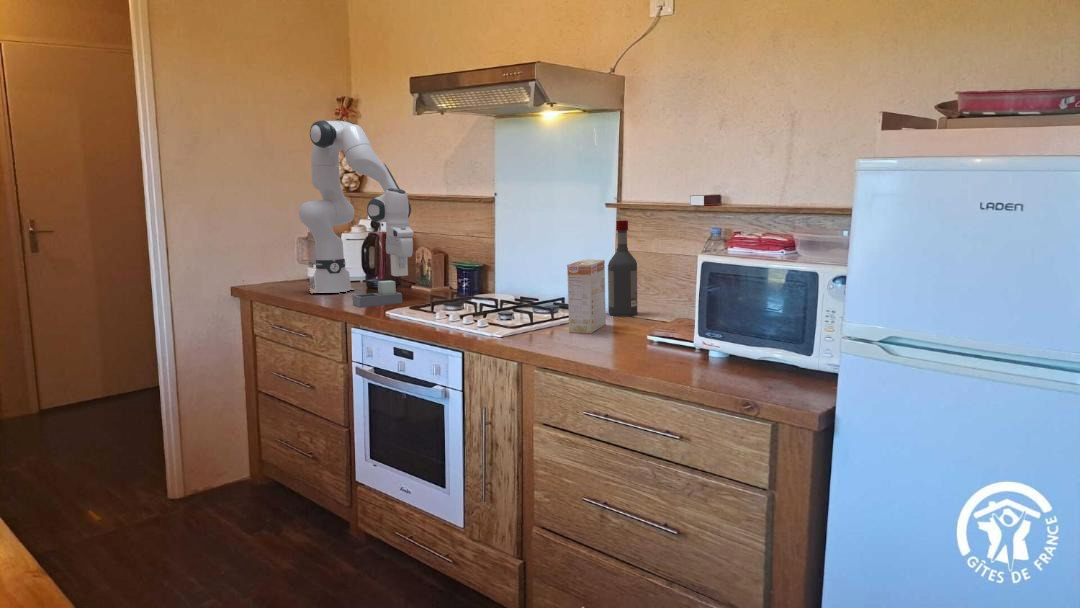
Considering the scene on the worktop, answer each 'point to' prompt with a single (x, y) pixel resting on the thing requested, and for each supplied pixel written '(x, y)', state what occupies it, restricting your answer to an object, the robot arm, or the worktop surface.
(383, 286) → the sage plug
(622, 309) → the liquor
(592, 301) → the coffeecake box
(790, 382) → the worktop surface
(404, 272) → the ivory plug
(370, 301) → the slot rack
